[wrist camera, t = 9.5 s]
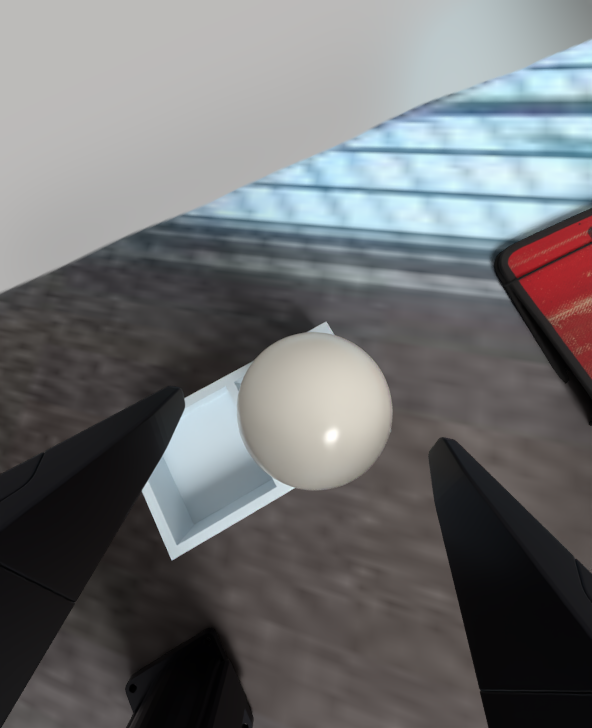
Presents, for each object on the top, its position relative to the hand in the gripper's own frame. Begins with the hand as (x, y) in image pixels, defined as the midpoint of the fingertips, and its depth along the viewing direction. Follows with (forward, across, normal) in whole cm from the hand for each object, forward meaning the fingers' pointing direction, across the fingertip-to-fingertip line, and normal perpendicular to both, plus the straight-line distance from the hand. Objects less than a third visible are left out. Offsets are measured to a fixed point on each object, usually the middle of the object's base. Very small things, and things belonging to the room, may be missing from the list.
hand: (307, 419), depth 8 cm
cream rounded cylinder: (+7, 0, +7) cm, 10 cm away
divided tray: (+6, +3, +9) cm, 11 cm away
